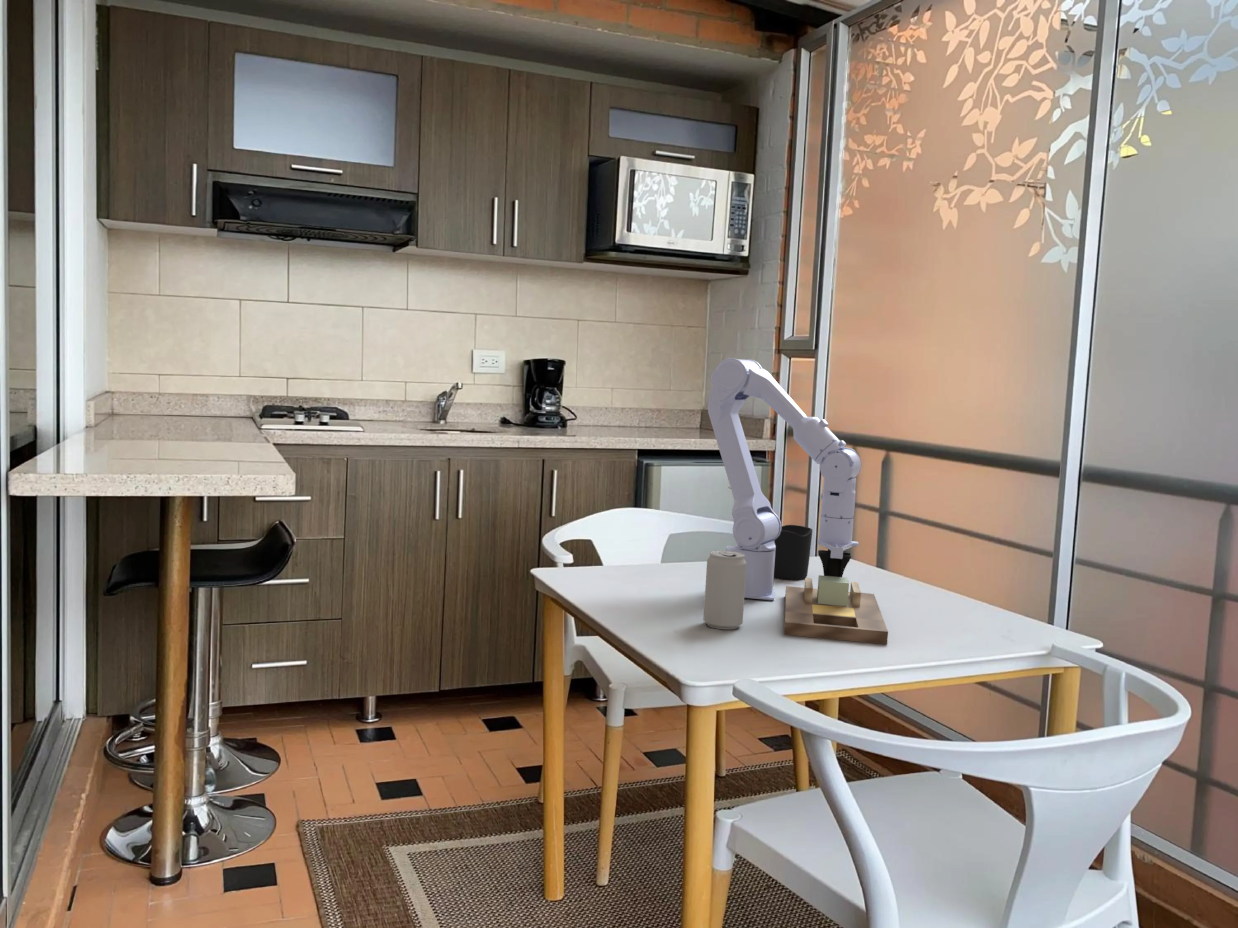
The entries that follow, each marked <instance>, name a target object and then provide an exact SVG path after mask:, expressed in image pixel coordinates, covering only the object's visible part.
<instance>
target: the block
mask: <svg viewBox="0 0 1238 928" xmlns="http://www.w3.org/2000/svg"><path fill="white" fill-rule="evenodd" d="M817 578H818V580H817V589H818V591H817V601H818V604H829V605H840V606H847V603H848V592H849V591H850V589H849V588H850V587H849V586H850V582H849V580H848V579H849V578H848V577H847V576H846V577H843V576H842V577H834V576H824V575H821V574H819V575H818V577H817Z"/></svg>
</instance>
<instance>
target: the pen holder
mask: <svg viewBox="0 0 1238 928" xmlns="http://www.w3.org/2000/svg"><path fill="white" fill-rule="evenodd" d="M812 536H813V529H812V528H811V527H808V526H802V525H796V524H784V525H781V532H780V535H779V536H778V538H777V539H775V540H774V543H775V546H776V549H775V564H774V578H773V579H778V580H785V581H791V580H792V581H799V580H805V578H808V571H809V563H810V556H811V549H812V548H811V547H812V538H813V537H812Z"/></svg>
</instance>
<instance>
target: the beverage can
mask: <svg viewBox="0 0 1238 928" xmlns="http://www.w3.org/2000/svg"><path fill="white" fill-rule="evenodd" d="M744 557H745V555H744V554H742V553H739V552H733V551H726V550H713V551H709V557H708V558H707V560H706V572H705V573H706V574H705V585H704V586H705V590H704V601H703V603H704V604H703V606H704V607H703V622H704V623H705V624H707V626H708V627H710V628H714V629H718V630H724V631H725V630H735V629H738V628H739V626H742V624H743V622H744V620H743V619H744V608H745V607H744V604H745V598H744V594H745V578H746V561H745V559H744Z"/></svg>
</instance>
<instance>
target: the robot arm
mask: <svg viewBox="0 0 1238 928" xmlns="http://www.w3.org/2000/svg"><path fill="white" fill-rule="evenodd" d="M710 382H711V387H710V392H709V393H710V394H709V399H708V406H707V413H708V416H709V420H710V424H711V426H712V430H713V433H714V434H713V435H714V437H715V440H716V444H717V447H718V450H719V453H720V456H721V460H722V463H723V468H724V470H725V473H726V476H727V479H728V480H727V481H728V484H729V487H730V491H731V493H732V496H733V500H734V501H733V502H734V503H733V506H732V509H731V515H732V519H733V526H732V535H733V538H734V540H735V542H736V545H733V546H732V545H726V547H725V551H733V552H739V553H742V554H744V555H745V557H744V559H745V561H746V578H745V594H744V599H755V600H763V601H764V600H765V601H774V600H775V594H776V590H775V589H774V579H775V578H774V564H775V549H776V546H775V543H774V540H775V539H777V538H778V536H779V535H780V532H781V527H782V522H781V519H780V517H779V515H777V514H776V513H775V511H774V509H772V505H771V502H770V501H769V499H768V498H767V496H765V495H764V493H763V492H762V489H761V486H760V485H761V484H760V481H759V478H758V476H757V472H756V469H755V464H754V462H753V457H752V455H751V452H750V449H749V445H748V442H747V438H746V436H745V433H744V429H743V425H742V423H741V418H740V416H739V412H740V410H741V409H742V407H743V405H744V404H745V402H746V401H747V399H748V398H750V397H753V398H757V399H761V400H763V401H764V402H765V403H766V404H767V405H768V406H769V407H770V408H771V409H772V410H773V411H775V413H777V415H779V417H780V418H782V419H783V421H785V422H786V423H787V424H788V425H789V426H790V427H791V428H792V431H793V440H794V441H795V442H796V443H797V444H798V446H800V448H802V449H803V451H805V453H806V454H808V455H807V456H809V457H810V458H811V459H812V460H813V461H814V462H815V464H817V465H819V471H820V474H821V475H822V477H823V489H822V498H821V509H820V510H821V511H820V512H821V513H820V525H819V537H818V539H817V544H818V545H819V546H821V547H823V548H825V549H826V550H825V549H822V550H821V549H819V550H818V556H819V559H820V560H821V564H822V569H823V570H822V571H823V576H834V577H843V575H844V572H845V570H846V568H847V565H848V564H849V562H850V561H851V559H852V558H851V557H852V556H851V551H848V549H850V548H855V547H856V548H858V547H859V541H853V533H854V532H853V531H854V516H855V507H856V506H855V504H856V493H857V492H856V485H857V484H856V483H857V478H856V477H857V476H858V475H859V474H860V472H861V468H862V460H861V458H860V456H859V454H858V452H857V451H856V450H855V449H853V448H851V447H845V446H847V443H846V441H844V440H843V439H842V440H841V439H839V438H838V437H837V436H836V435H835V434H834V433H833V432H832V431H831V430H830V428H828V426H829V422H827V421H826V419H821V420H820V418H818V417H817V416H808V415H806V413H805V412H804V411H803V410H802V409H801V408H800V407H799V405H798V404H797V403H796V402H795V401H794V400H793V399H792V397H791V396H790V395H789V394H788V393H787V391H786V390H784V389H783V387H782V386H781V385H780V383H778V381H776V379H775V377H773V375H772V374H771V373H770V371H768V370H766V368H763V367H762V366H761V364H760V363H759V362H758V361H756V360H754V359H750V358H748V359H747V358H745V359H741V358H740V359H737V358H735V357H727V358H725V359H723V360H721V361H720V362H719V363H718V365H717V366H716V368H715V369H714V371H713V372H712V373H711V375H710Z"/></svg>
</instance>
